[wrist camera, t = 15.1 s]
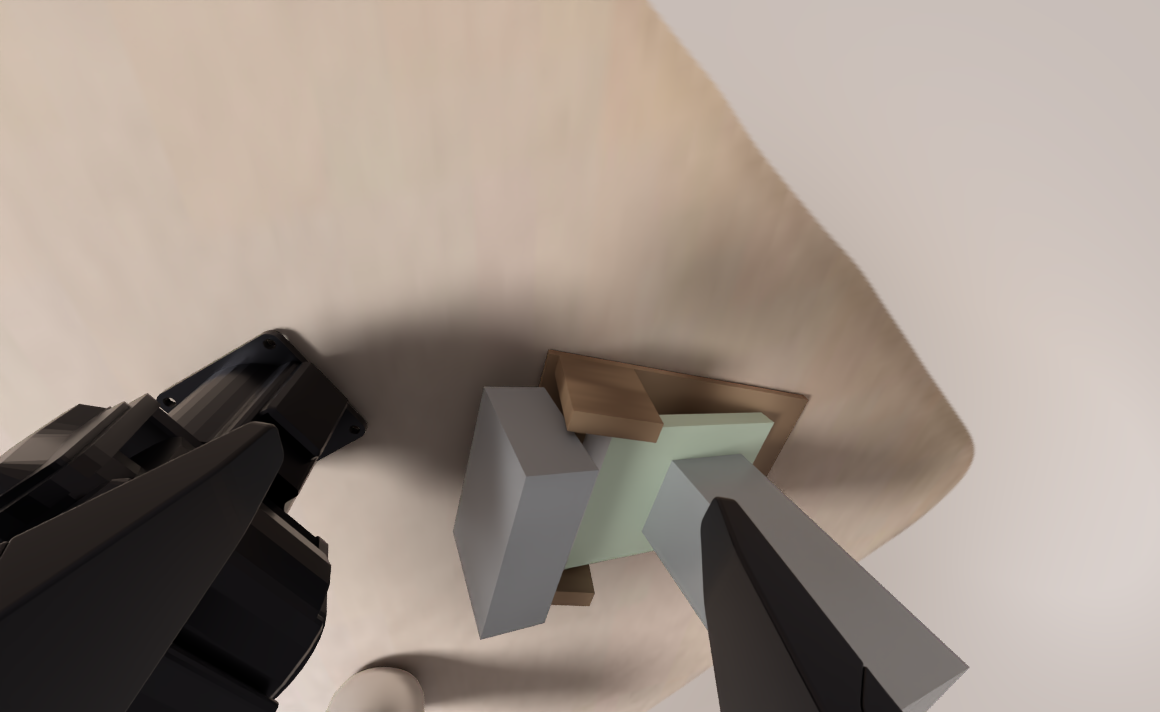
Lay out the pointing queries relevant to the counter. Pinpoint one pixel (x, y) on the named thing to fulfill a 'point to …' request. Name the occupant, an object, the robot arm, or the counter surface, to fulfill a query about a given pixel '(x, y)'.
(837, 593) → the grey rectangular block
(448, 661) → the counter surface
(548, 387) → the frame
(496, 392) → the trapdoor
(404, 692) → the plastic bottle
